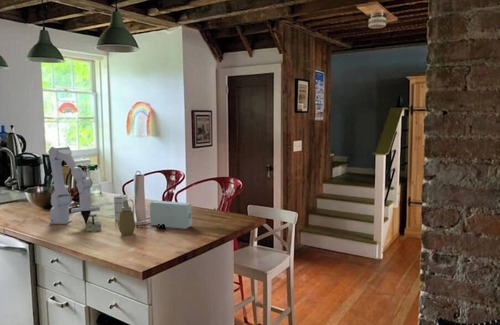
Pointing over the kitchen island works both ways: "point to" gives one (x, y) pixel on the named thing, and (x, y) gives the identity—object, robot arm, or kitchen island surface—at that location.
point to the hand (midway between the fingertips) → (86, 224)
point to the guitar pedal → (171, 214)
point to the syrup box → (119, 205)
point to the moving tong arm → (89, 224)
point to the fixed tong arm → (95, 222)
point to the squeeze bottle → (126, 220)
